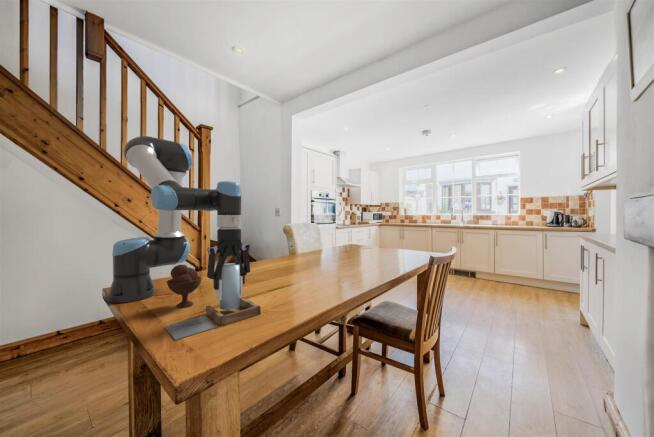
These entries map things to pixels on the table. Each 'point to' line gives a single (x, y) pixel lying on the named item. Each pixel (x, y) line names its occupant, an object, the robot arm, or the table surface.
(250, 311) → the brown wooden u-shaped frame
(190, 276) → the ice cream bowl
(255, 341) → the table surface
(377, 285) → the table surface
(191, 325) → the coaster
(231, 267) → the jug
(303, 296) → the table surface
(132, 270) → the robot arm
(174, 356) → the table surface
